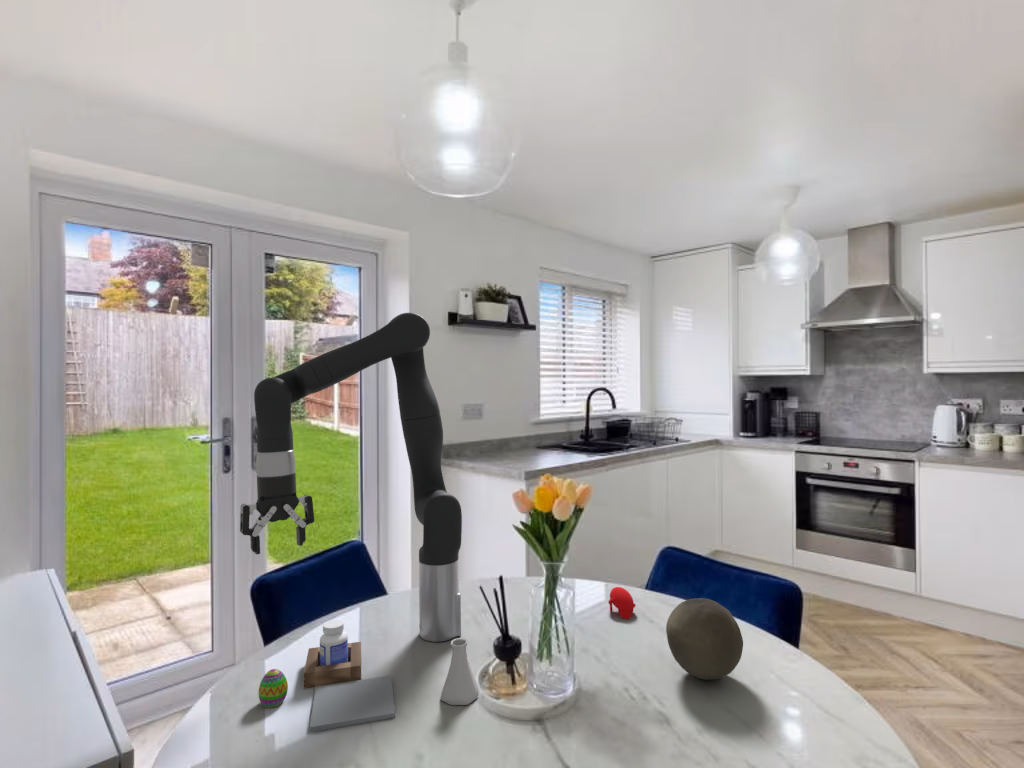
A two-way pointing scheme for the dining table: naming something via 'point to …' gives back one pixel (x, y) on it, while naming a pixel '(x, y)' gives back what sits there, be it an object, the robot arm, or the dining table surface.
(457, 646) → the flask
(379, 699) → the slate mat
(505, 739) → the dining table surface
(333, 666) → the walnut socket
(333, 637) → the pill bottle
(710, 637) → the grey river stone
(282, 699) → the egg
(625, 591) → the red rounded figure
